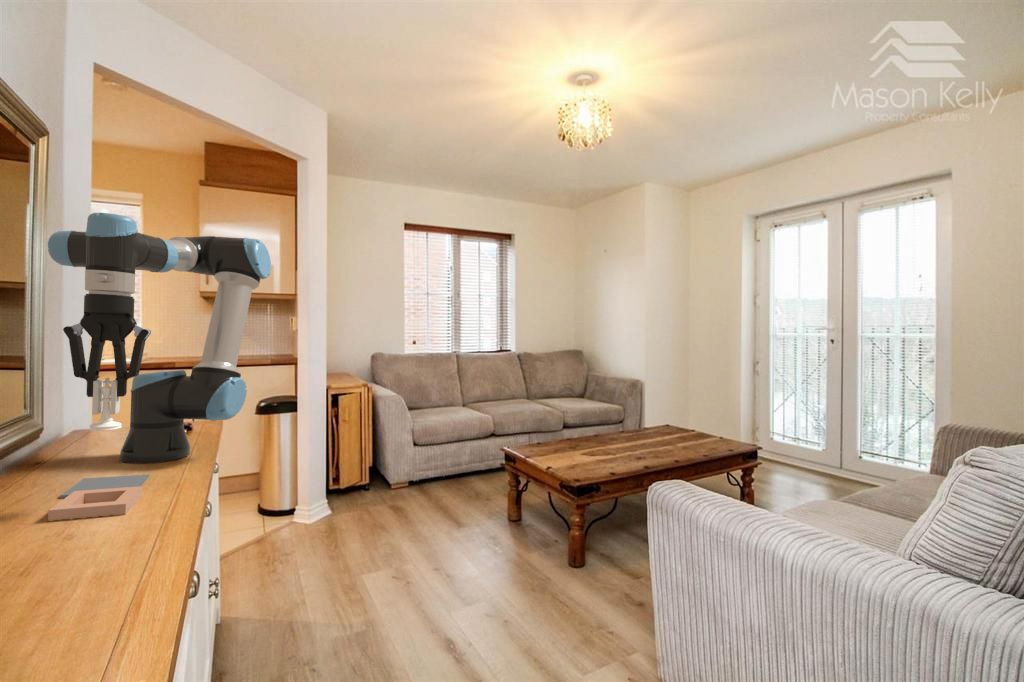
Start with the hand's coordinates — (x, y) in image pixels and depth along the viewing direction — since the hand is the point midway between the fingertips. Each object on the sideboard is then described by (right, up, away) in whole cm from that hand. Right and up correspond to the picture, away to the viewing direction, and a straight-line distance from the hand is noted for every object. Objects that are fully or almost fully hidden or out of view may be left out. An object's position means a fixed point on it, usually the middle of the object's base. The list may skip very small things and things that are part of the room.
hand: (106, 413), depth 93 cm
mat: (-8, -18, +10) cm, 22 cm away
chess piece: (0, -3, 0) cm, 3 cm away
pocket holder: (0, -18, -2) cm, 18 cm away
